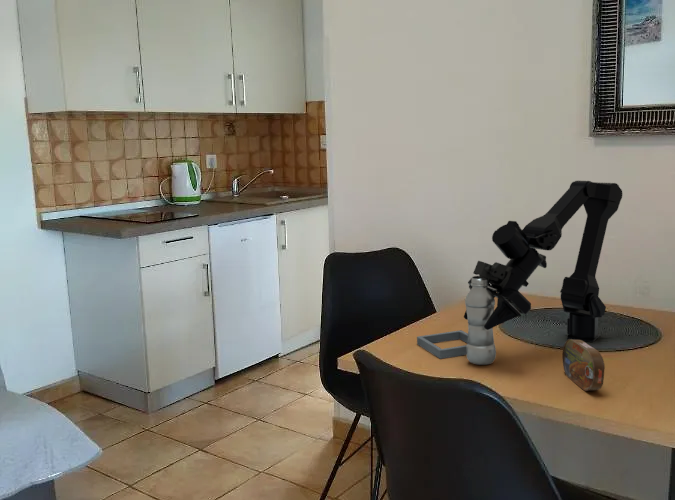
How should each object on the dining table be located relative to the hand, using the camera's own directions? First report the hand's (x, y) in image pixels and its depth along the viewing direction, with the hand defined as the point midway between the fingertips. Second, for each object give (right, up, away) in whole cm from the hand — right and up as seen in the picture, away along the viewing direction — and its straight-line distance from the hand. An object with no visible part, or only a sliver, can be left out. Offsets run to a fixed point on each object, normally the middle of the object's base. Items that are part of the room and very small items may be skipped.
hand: (475, 323), depth 151 cm
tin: (+20, -11, -12) cm, 26 cm away
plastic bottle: (+2, -10, +2) cm, 10 cm away
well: (-3, -7, +14) cm, 16 cm away
